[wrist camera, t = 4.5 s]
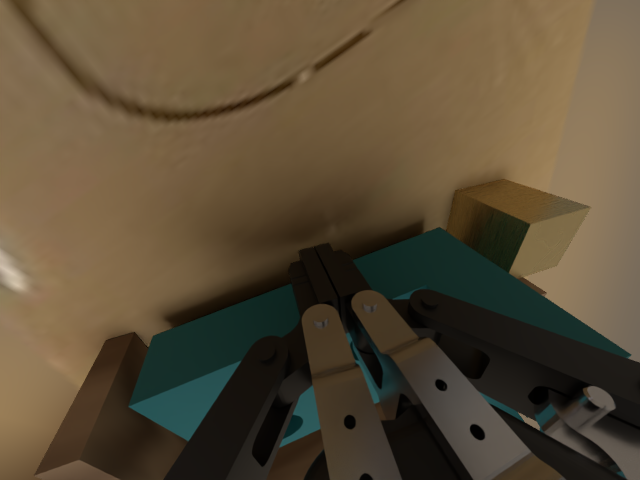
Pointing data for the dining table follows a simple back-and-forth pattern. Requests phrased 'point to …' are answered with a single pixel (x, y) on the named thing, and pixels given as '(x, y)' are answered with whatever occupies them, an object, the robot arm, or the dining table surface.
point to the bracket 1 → (140, 428)
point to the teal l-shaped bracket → (282, 317)
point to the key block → (515, 225)
